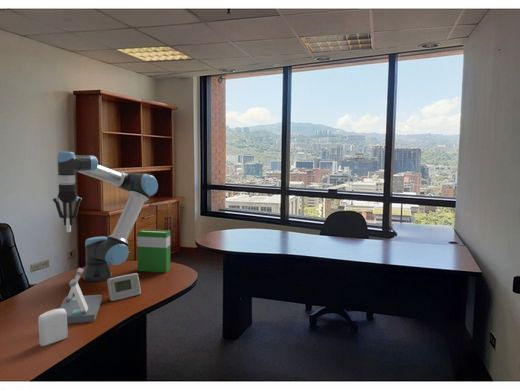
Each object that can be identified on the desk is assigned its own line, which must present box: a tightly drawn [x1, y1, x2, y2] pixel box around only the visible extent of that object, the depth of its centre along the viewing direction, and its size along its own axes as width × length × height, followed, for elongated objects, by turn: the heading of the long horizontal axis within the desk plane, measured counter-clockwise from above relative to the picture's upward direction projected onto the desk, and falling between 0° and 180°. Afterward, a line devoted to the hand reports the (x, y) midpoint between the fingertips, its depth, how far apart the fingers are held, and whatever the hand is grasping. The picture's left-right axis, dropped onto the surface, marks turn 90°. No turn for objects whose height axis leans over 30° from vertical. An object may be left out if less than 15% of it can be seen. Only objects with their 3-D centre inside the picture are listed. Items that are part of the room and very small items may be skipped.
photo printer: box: [37, 308, 69, 347], centre depth 159 cm, size 10×4×12 cm, turn 140°
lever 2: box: [68, 278, 88, 314], centre depth 178 cm, size 2×5×15 cm, turn 13°
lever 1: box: [66, 267, 85, 302], centre depth 193 cm, size 2×5×15 cm, turn 15°
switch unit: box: [58, 294, 103, 324], centre depth 187 cm, size 16×24×3 cm, turn 14°
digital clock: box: [106, 272, 142, 302], centre depth 206 cm, size 16×9×11 cm, turn 121°
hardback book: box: [136, 228, 171, 273], centre depth 249 cm, size 18×7×24 cm, turn 84°
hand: (68, 231), depth 202 cm, fingers closed
